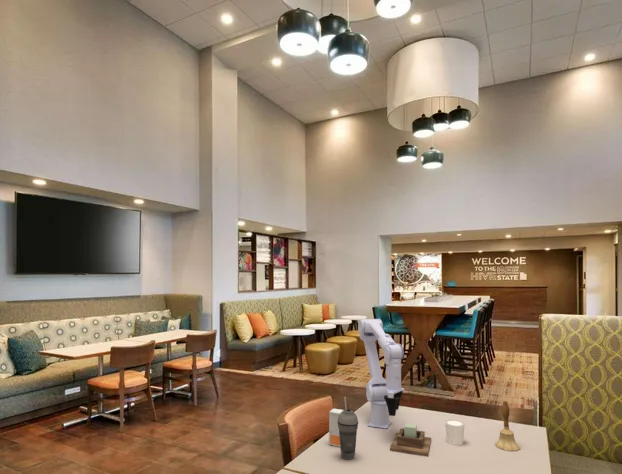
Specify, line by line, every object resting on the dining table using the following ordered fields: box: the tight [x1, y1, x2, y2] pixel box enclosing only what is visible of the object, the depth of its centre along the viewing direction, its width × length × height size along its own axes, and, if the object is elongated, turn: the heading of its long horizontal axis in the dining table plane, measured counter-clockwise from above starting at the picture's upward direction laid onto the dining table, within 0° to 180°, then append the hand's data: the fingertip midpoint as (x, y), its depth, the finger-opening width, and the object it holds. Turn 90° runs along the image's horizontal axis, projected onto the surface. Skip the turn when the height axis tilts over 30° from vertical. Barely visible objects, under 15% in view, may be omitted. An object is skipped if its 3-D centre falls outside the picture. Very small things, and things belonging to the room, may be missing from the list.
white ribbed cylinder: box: [444, 419, 465, 446], centre depth 156 cm, size 7×7×7 cm
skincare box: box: [328, 408, 344, 448], centre depth 154 cm, size 6×4×12 cm
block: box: [403, 422, 418, 438], centre depth 153 cm, size 4×4×6 cm
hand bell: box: [494, 400, 521, 452], centre depth 153 cm, size 8×8×16 cm
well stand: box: [389, 428, 432, 457], centre depth 153 cm, size 15×13×4 cm
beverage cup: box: [337, 395, 359, 461], centre depth 144 cm, size 7×7×20 cm
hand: (393, 412), depth 161 cm, fingers open, 7 cm apart
